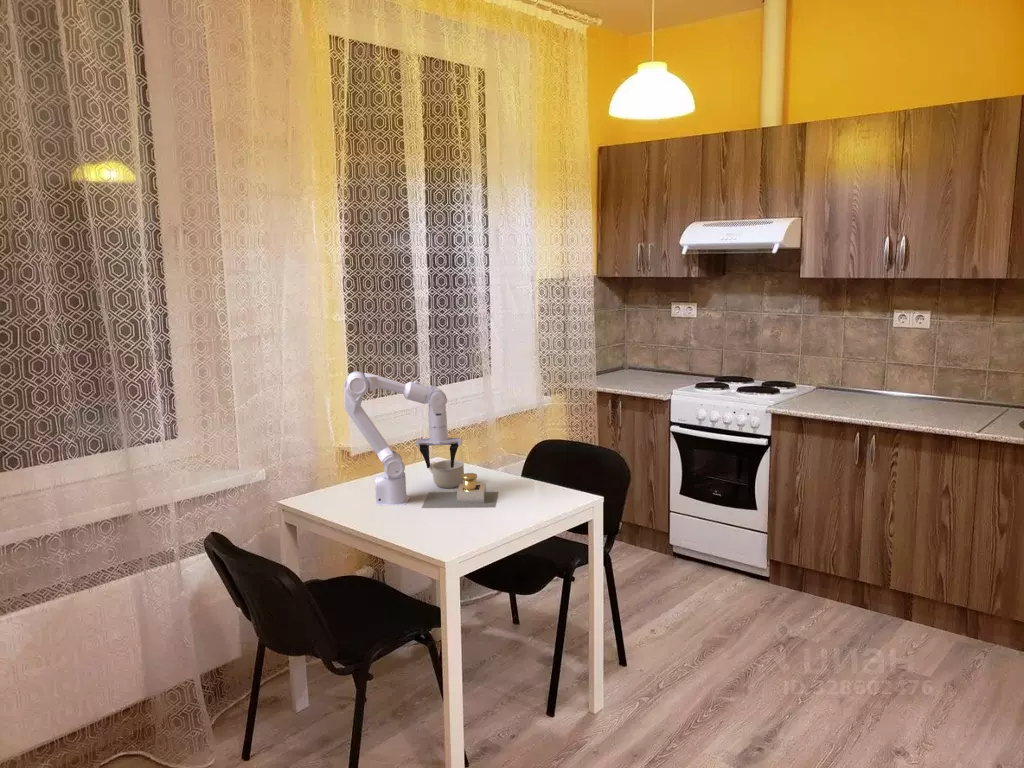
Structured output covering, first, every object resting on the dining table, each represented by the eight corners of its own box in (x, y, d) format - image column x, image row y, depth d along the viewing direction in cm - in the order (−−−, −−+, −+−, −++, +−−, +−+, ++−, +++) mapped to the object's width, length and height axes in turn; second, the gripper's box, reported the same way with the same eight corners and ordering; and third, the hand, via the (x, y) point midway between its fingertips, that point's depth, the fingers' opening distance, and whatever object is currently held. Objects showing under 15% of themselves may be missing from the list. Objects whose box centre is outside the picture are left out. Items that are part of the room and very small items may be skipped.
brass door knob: (461, 502, 242) (460, 477, 240) (463, 497, 246) (462, 473, 245) (477, 501, 241) (476, 477, 240) (478, 496, 246) (477, 472, 245)
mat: (421, 509, 237) (421, 507, 237) (429, 493, 253) (428, 492, 252) (495, 508, 236) (495, 507, 236) (498, 492, 252) (498, 491, 251)
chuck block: (457, 503, 240) (456, 491, 239) (460, 495, 248) (459, 483, 248) (484, 503, 240) (483, 491, 239) (486, 495, 248) (485, 483, 247)
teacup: (470, 486, 259) (470, 463, 258) (444, 493, 253) (443, 470, 251) (447, 478, 270) (446, 456, 269) (421, 484, 263) (420, 462, 262)
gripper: (413, 429, 240) (416, 471, 242) (459, 428, 239) (461, 469, 242) (417, 424, 247) (419, 465, 249) (461, 423, 246) (463, 463, 248)
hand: (440, 467), depth 246 cm, fingers open, 7 cm apart
